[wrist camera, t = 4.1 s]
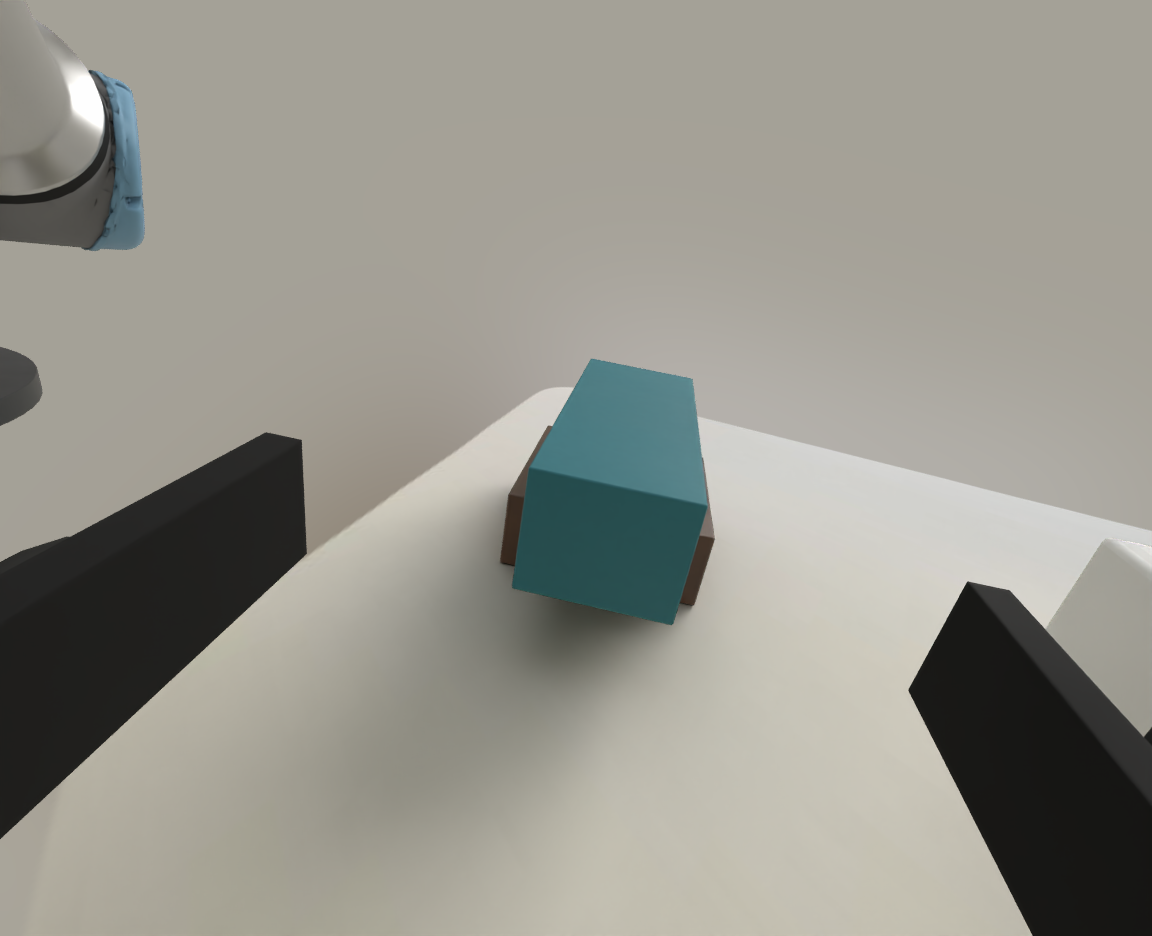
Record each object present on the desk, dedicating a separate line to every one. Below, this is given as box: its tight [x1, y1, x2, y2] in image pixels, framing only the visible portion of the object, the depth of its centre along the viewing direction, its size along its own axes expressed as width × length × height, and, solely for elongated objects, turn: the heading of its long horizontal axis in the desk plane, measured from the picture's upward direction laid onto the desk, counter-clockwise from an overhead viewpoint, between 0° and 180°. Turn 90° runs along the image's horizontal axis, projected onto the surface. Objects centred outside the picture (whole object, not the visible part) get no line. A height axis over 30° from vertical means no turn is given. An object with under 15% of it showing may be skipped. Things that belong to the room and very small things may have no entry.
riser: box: [500, 426, 715, 605], centre depth 32 cm, size 10×10×4 cm
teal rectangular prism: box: [512, 359, 708, 625], centre depth 27 cm, size 6×16×5 cm, turn 171°
